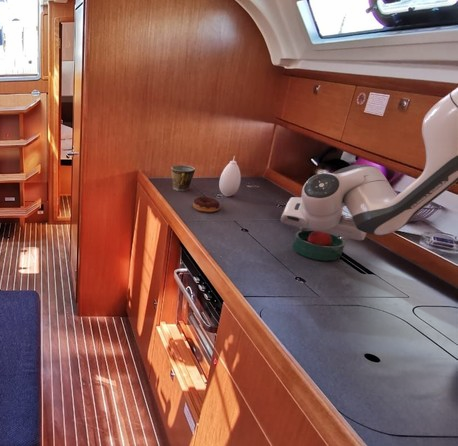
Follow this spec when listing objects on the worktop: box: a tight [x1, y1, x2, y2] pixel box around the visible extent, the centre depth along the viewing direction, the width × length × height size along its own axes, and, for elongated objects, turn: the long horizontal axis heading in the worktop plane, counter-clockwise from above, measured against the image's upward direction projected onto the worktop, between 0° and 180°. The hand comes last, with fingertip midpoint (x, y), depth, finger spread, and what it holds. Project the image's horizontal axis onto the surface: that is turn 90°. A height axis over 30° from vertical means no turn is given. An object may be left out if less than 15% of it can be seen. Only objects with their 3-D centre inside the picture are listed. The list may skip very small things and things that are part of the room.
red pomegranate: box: [307, 231, 332, 246], centre depth 121 cm, size 6×6×8 cm
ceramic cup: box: [170, 164, 196, 192], centre depth 179 cm, size 13×10×10 cm
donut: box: [192, 196, 221, 213], centre depth 158 cm, size 10×10×4 cm
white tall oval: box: [218, 155, 242, 197], centre depth 167 cm, size 8×8×18 cm
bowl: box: [292, 229, 346, 262], centre depth 122 cm, size 12×12×5 cm
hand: (321, 233), depth 120 cm, fingers open, 8 cm apart
